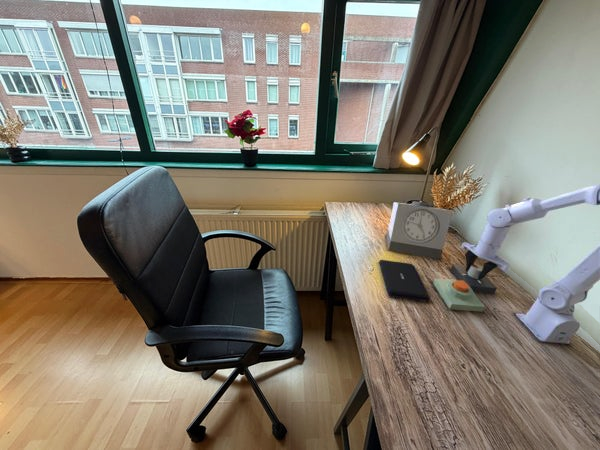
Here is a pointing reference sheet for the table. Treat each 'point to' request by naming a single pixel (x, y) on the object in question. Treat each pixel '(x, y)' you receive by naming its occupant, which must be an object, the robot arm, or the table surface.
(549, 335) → the robot arm
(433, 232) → the alarm clock
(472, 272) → the temp dial
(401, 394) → the table surface
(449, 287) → the green button box
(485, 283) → the dial panel
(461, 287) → the button
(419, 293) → the laptop
